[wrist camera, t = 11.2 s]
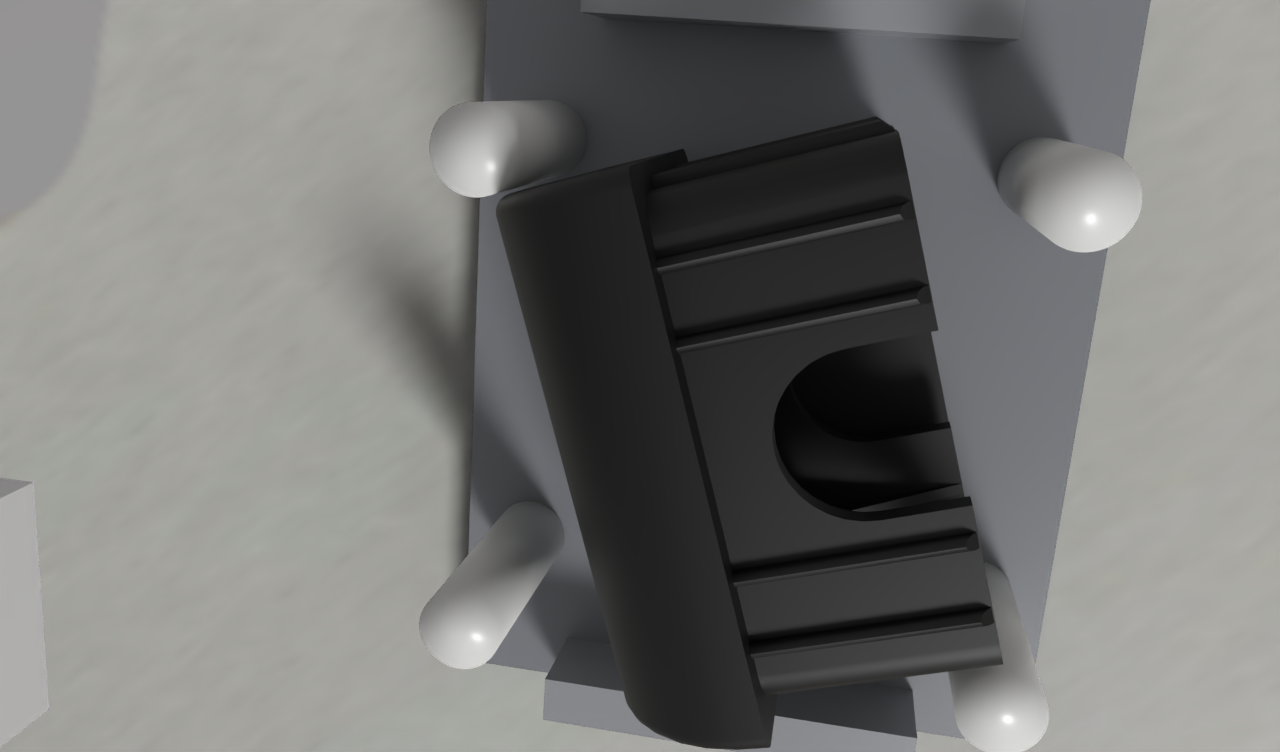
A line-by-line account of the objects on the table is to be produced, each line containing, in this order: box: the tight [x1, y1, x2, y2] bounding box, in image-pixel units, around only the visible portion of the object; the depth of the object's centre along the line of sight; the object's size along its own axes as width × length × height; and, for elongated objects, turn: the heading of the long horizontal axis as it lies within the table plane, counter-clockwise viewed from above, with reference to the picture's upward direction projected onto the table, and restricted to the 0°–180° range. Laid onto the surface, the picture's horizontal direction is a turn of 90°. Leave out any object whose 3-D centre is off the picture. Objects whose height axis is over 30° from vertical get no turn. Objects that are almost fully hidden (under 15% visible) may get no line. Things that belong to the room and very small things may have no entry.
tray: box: [419, 0, 1151, 752], centre depth 23 cm, size 13×16×6 cm
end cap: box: [496, 116, 1003, 750], centre depth 21 cm, size 10×7×7 cm
